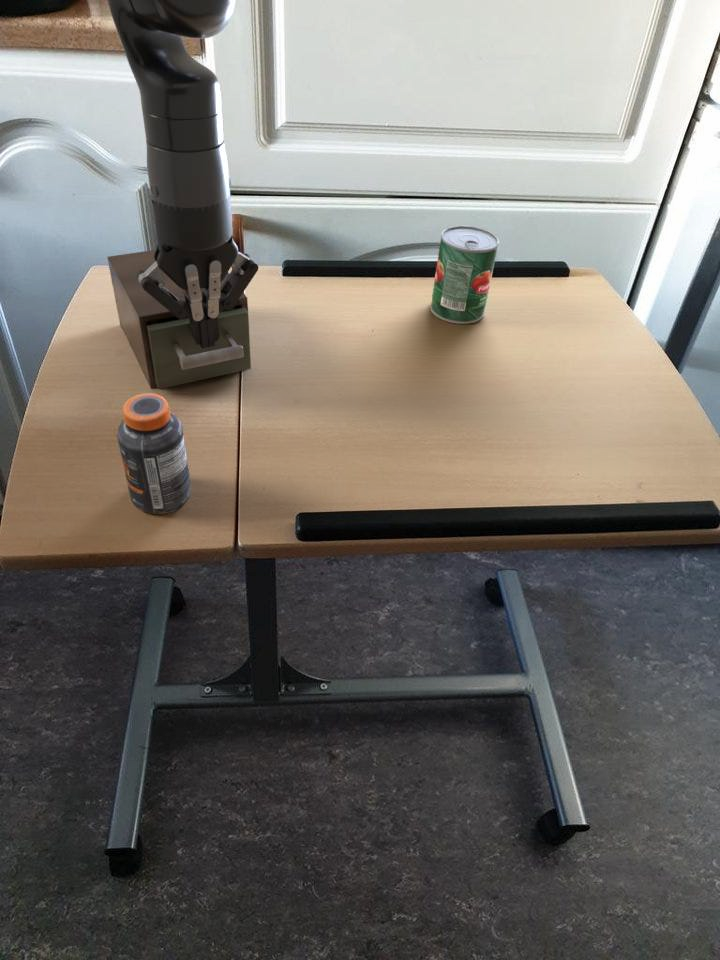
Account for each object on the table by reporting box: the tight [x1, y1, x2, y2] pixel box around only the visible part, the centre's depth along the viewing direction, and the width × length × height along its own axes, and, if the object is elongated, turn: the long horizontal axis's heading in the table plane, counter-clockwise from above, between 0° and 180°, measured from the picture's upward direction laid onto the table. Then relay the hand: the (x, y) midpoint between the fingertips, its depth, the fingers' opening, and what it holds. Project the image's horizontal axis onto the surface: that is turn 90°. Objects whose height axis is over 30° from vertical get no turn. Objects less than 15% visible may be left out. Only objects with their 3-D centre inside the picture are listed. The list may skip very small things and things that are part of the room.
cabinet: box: [106, 249, 252, 389], centre depth 88 cm, size 16×13×10 cm
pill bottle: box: [116, 393, 192, 515], centre depth 67 cm, size 6×6×11 cm
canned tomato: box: [429, 225, 500, 325], centre depth 99 cm, size 8×8×11 cm
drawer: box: [147, 306, 252, 390], centre depth 85 cm, size 19×11×8 cm, turn 27°
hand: (205, 344), depth 79 cm, fingers closed
